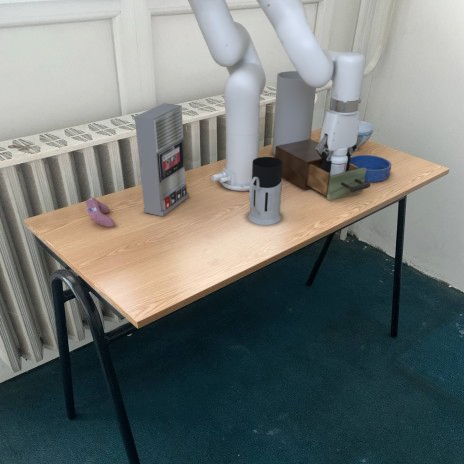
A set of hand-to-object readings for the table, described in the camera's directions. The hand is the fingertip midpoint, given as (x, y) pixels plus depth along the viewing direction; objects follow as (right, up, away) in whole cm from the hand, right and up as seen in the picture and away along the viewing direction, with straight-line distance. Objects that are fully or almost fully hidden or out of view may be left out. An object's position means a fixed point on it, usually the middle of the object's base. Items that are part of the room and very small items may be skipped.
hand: (335, 170), depth 139 cm
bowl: (+13, +3, +14) cm, 19 cm away
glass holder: (-22, -17, -12) cm, 30 cm away
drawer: (+1, -5, +2) cm, 6 cm away
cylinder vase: (-9, +14, +29) cm, 33 cm away
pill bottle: (0, -4, +3) cm, 5 cm away
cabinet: (-6, +1, +12) cm, 14 cm away
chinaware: (+12, +18, +34) cm, 40 cm away
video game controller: (-64, -17, -13) cm, 67 cm away
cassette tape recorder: (-47, -11, -5) cm, 49 cm away
